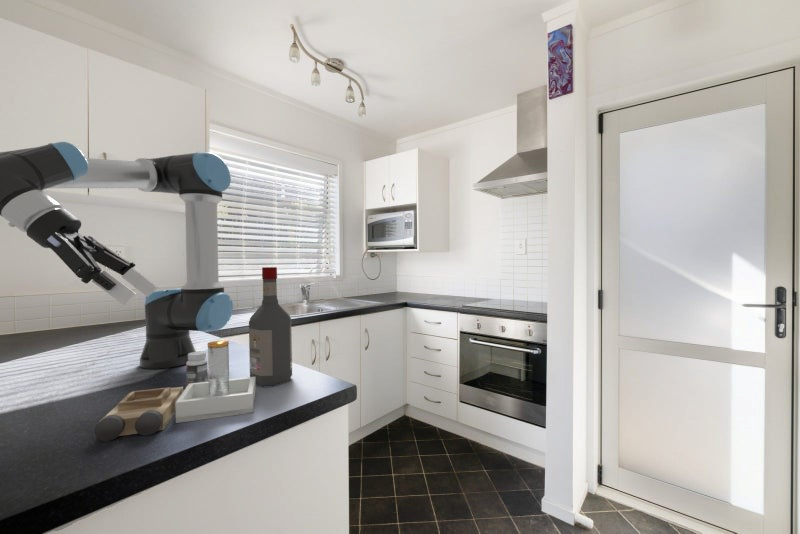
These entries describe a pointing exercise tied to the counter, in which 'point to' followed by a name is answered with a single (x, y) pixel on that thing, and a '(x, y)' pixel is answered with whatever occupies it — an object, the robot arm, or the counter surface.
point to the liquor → (270, 336)
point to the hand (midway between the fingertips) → (142, 295)
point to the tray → (216, 400)
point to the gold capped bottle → (218, 368)
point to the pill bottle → (196, 368)
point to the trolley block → (139, 413)
